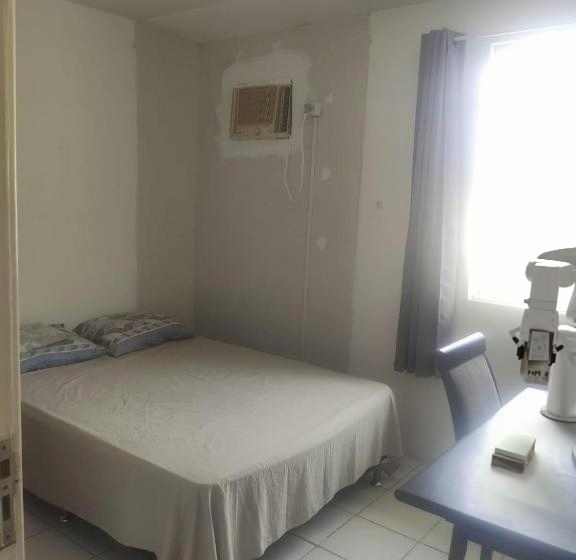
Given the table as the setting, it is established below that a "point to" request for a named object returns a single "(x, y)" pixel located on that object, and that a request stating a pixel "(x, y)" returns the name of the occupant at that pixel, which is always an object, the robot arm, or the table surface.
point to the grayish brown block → (510, 462)
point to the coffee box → (537, 357)
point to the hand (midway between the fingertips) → (535, 361)
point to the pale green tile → (515, 445)
